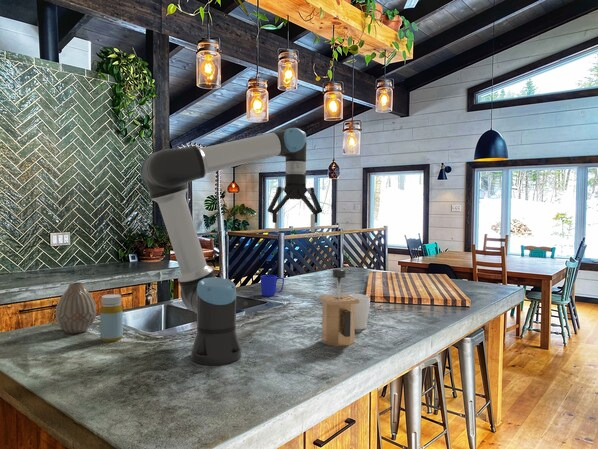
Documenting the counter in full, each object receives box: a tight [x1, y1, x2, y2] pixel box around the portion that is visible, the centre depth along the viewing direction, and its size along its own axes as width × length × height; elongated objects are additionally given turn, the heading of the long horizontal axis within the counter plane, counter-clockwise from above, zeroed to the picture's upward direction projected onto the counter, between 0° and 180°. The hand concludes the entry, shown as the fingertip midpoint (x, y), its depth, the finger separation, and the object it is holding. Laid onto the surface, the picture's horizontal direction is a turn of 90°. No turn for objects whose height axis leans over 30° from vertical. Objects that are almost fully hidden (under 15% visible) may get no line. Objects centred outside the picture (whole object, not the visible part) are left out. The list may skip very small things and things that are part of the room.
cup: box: [348, 293, 371, 331], centre depth 170 cm, size 9×9×12 cm
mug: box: [259, 274, 285, 297], centre depth 227 cm, size 8×12×10 cm
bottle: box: [99, 293, 124, 343], centre depth 151 cm, size 7×7×15 cm
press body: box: [318, 293, 359, 347], centre depth 151 cm, size 10×13×15 cm
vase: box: [55, 281, 97, 334], centre depth 161 cm, size 13×13×18 cm
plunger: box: [332, 268, 347, 299], centre depth 152 cm, size 8×8×20 cm
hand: (294, 232), depth 163 cm, fingers open, 13 cm apart
